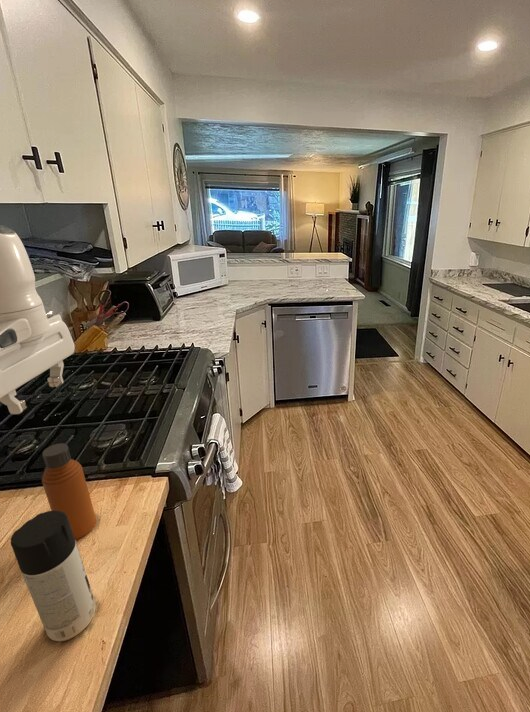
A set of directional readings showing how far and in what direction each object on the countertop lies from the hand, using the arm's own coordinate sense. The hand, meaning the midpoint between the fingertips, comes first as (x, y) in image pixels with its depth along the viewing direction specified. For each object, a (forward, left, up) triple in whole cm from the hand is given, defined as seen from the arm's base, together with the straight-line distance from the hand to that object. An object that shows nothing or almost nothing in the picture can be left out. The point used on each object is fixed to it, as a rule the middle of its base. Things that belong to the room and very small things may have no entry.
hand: (39, 397), depth 64 cm
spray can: (+10, -18, -31) cm, 37 cm away
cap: (0, 0, -14) cm, 14 cm away
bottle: (0, 0, -31) cm, 31 cm away
